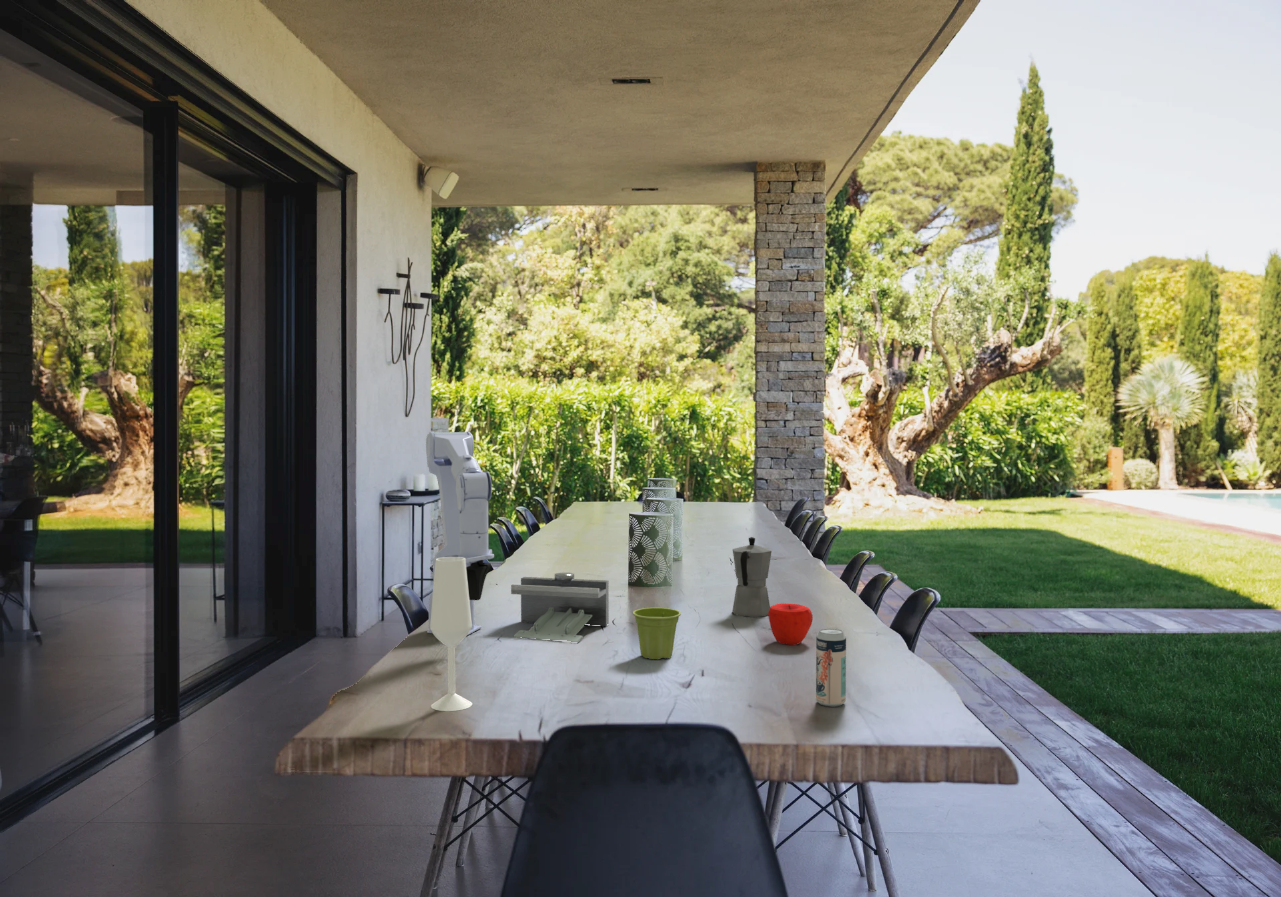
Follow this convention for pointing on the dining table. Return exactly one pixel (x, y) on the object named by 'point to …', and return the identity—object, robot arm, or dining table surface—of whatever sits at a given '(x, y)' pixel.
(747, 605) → the coffeepot
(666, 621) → the plant pot
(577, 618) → the metal bracket
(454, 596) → the champagne flute
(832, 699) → the beer can
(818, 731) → the dining table surface
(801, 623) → the apple
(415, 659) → the dining table surface
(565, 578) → the stand
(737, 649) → the dining table surface
